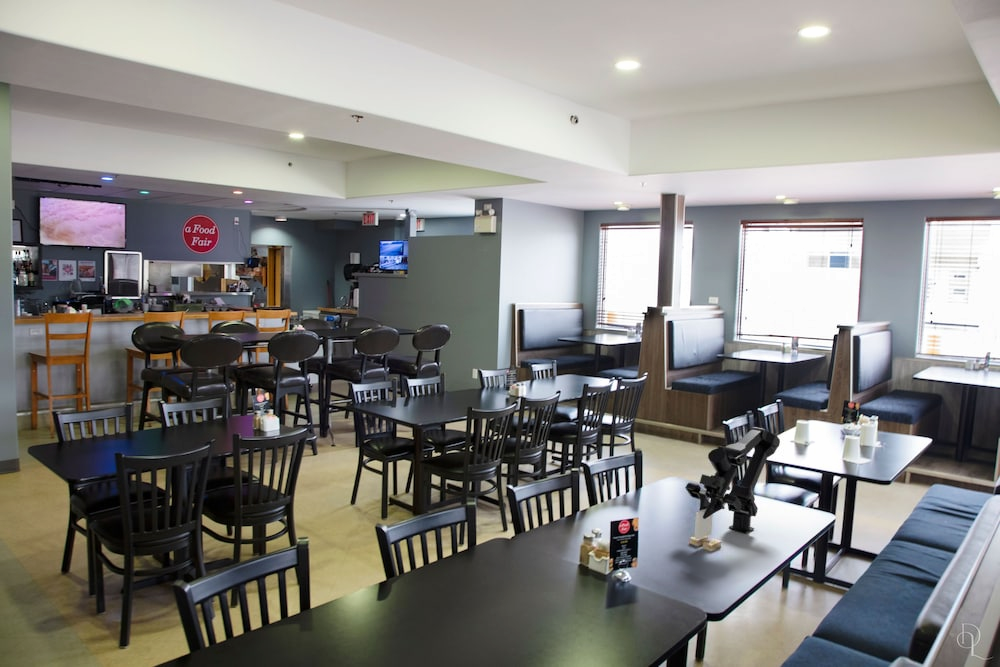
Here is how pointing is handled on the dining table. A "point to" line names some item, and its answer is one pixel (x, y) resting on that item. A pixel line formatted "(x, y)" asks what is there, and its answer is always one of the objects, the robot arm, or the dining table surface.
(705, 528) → the white board
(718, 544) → the oak holder
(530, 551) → the dining table surface
